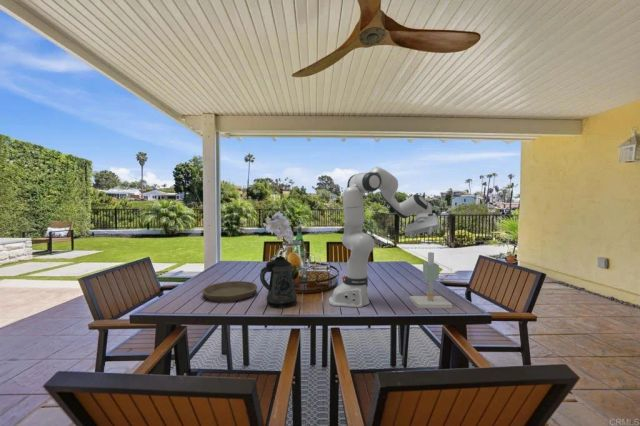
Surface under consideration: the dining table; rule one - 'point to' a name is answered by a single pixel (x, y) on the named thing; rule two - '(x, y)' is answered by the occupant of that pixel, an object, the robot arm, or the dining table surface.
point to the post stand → (430, 294)
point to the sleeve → (431, 271)
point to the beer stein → (279, 283)
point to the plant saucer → (229, 291)
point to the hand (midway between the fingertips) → (420, 236)
